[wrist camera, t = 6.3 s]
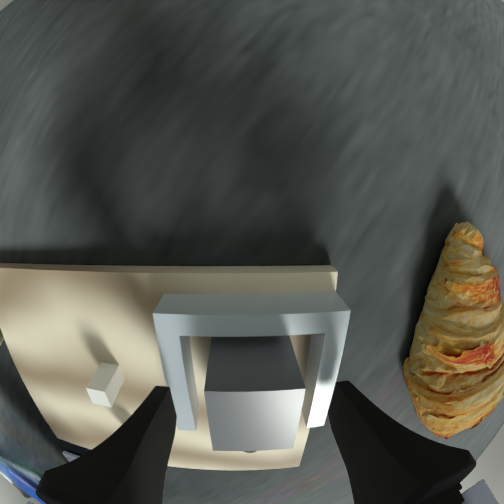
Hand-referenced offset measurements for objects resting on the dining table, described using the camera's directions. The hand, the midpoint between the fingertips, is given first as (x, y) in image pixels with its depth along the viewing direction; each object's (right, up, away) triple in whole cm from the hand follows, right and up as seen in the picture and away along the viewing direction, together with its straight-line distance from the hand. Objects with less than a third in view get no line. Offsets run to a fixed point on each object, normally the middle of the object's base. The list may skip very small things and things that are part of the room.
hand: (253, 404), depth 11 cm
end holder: (0, +1, +3) cm, 3 cm away
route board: (-7, -2, +4) cm, 9 cm away
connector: (0, -1, +3) cm, 3 cm away
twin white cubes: (-8, -3, +4) cm, 9 cm away
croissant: (+15, -1, +6) cm, 16 cm away
